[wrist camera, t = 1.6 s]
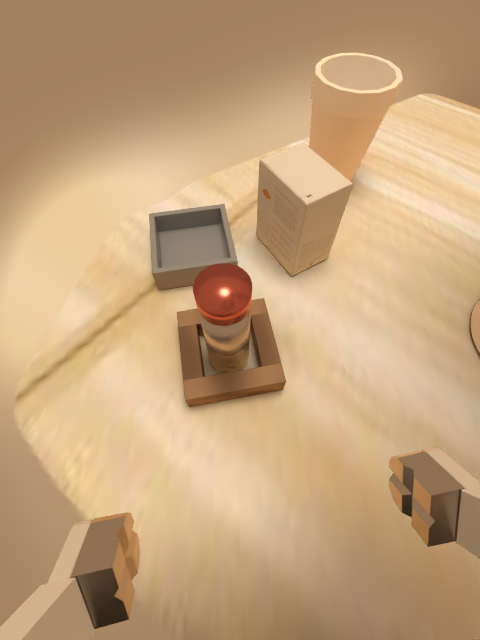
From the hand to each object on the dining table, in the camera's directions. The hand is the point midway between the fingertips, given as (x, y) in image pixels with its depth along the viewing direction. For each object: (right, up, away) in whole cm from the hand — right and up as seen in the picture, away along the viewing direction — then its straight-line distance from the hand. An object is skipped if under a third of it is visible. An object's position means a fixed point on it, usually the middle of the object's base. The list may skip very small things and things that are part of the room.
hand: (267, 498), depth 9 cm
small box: (+6, +15, +29) cm, 33 cm away
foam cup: (+12, +26, +36) cm, 46 cm away
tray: (-6, +14, +28) cm, 32 cm away
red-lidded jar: (-2, +2, +22) cm, 22 cm away
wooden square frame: (-2, +2, +22) cm, 22 cm away
